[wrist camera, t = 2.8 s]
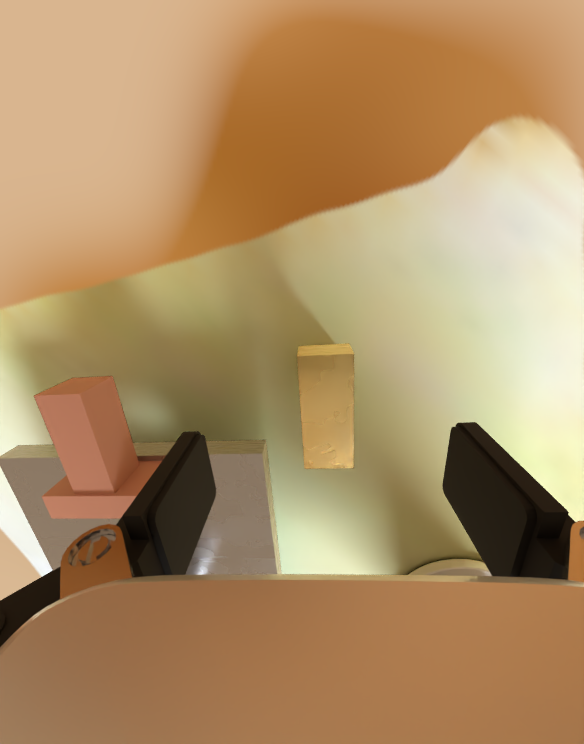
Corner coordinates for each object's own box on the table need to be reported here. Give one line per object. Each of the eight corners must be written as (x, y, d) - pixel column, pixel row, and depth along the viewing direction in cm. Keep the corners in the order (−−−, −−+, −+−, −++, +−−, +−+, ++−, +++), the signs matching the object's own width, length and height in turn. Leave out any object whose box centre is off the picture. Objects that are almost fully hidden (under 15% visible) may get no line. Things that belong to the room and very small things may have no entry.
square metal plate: (275, 402, 24) (243, 521, 13) (292, 575, 31) (282, 749, 20) (77, 409, 26) (-107, 520, 14) (136, 573, 33) (45, 732, 22)
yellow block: (339, 323, 21) (354, 353, 14) (340, 404, 24) (353, 468, 16) (302, 325, 22) (297, 356, 14) (306, 405, 24) (304, 468, 17)
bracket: (147, 372, 16) (112, 394, 13) (175, 480, 19) (150, 518, 16) (49, 376, 17) (-5, 398, 14) (89, 481, 19) (51, 518, 16)
